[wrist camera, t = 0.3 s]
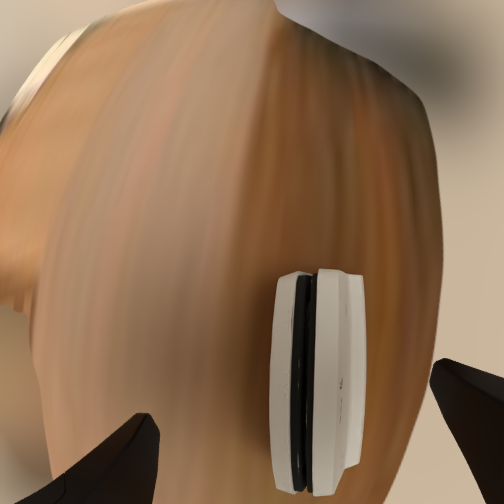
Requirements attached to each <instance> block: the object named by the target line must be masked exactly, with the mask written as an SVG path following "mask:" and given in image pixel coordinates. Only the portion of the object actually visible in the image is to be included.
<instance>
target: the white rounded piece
mask: <svg viewBox="0 0 504 504" xmlns="http://www.w3.org/2000/svg"><path fill="white" fill-rule="evenodd" d="M365 396H366V317H365V298H364V283H363V277H362V276H361V275H351V274H346V273H344V272H342V271H340V270H332V269H319V271H318V273H317V274H310V273H305V272H301V271H297V272H294V273H291V274H288V275H285V276H282V277H280V278H279V280H278V283H277V290H276V298H275V308H274V318H273V330H272V346H271V361H270V394H269V424H270V443H271V457H272V467H273V473H274V479H275V484H276V488H277V489H279V490H282V491H285V492H288V493H291V494H296V493H297V492H298V491H299V492H302V491H303V490H304V489H305V487H306V486H307V490H308V492H309V493H313V495H314V496H326V495H333V494H334V492H335V490H336V488H337V486H338V483H339V481H340V478H341V476H342V474H343V471H344V469H346V468H348V467H351V466H354V465H356V464H358V463H359V461H360V456H361V448H362V438H363V427H364V414H365Z"/></svg>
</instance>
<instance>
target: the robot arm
mask: <svg viewBox="0 0 504 504" xmlns="http://www.w3.org/2000/svg"><path fill="white" fill-rule="evenodd" d="M429 383H430V387H431V390H432V392H433V394H434V396H435V399H436V401H437V403H438V406H439V408H440V410H441V413H442V415H443V417H444V419H445V421H446V424H447V425H448V427H449V429H450V431H451V433H452V434H453V436H454V438H455V440H456V442H457V444H458V446H459V448H460V449H461V452H462V453H463V455H464V457H465V459H466V461H467V463H468V465H469V467H470V469H471V472H472V474H473V476H474V478H475V480H476V482H477V484H478V487H479V489H480V491H481V493H482V495H483V498H484V500H485V503H487V504H504V378H503V377H499V376H496V375H493V374H491V373H488V372H484V371H481V370H479V369H476V368H473V367H470V366H467V365H464V364H461V363H459V362H456V361H453V360H450V359H447V358H443V359H440V360H438V361H436V362H435V363H434V365H433V368H432V372H431V376H430V380H429ZM159 442H160V431H159V429H158V427H157V425H156V423H155V422H154V420H153V418H152V416H151V415H150V414H149V413H136V414H135V415H134V416H132V417H131V418H130V419H129V420H128V421H127V422H125V423H124V424H123V425H122V426H121V427H120V428H118V429H117V430H116V431H115V432H114V433H112V434H111V435H110V436H109V437H108V438H107V439H105V440H104V441H103V442H102V443H100V444H99V445H98V446H97V447H96V448H94V449H93V450H92V451H91V452H89V453H88V454H87V455H86V456H85V457H83V458H82V459H81V460H80V461H78V462H77V463H76V464H75V465H73V466H72V467H71V468H69V469H68V470H67V471H66V472H65V473H63V474H62V475H60V476H59V477H58V478H56V479H55V480H54V481H52V482H51V483H49V484H48V485H46V486H45V487H43V488H42V489H40V490H38V491H37V492H35V493H33V494H31V495H30V496H28V497H26V498H24V499H22V500H20V501H18V502H17V503H15V504H152V501H153V495H154V490H155V484H156V479H157V471H158V456H159Z"/></svg>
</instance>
